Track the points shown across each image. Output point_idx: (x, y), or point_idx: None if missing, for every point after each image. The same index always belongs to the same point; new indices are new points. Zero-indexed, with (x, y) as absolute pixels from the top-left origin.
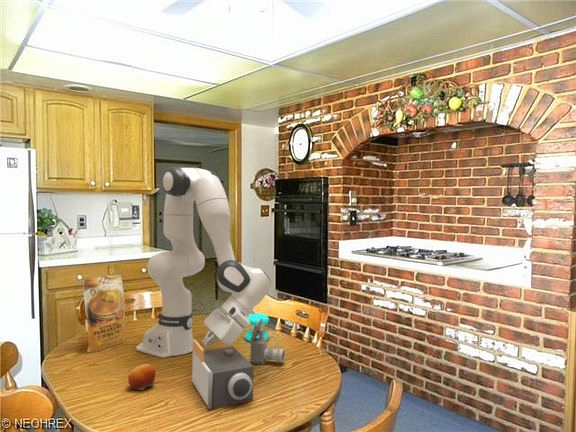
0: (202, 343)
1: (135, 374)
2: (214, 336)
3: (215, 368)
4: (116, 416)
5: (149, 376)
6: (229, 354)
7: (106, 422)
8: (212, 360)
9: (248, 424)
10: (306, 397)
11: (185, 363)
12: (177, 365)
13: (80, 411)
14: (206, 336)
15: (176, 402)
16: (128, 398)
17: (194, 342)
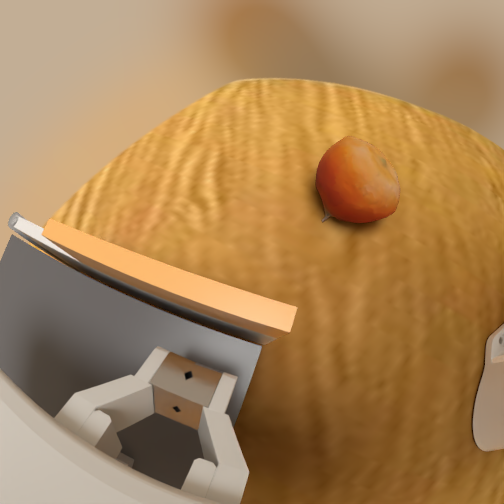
0: (213, 368)
1: (340, 140)
2: (65, 415)
3: (24, 268)
4: (232, 111)
5: (321, 175)
6: None
7: (225, 97)
8: (80, 323)
9: None
10: None
11: (425, 391)
12: (428, 360)
13: (301, 87)
14: (214, 429)
15: (180, 222)
16: (298, 149)
17: (229, 287)
